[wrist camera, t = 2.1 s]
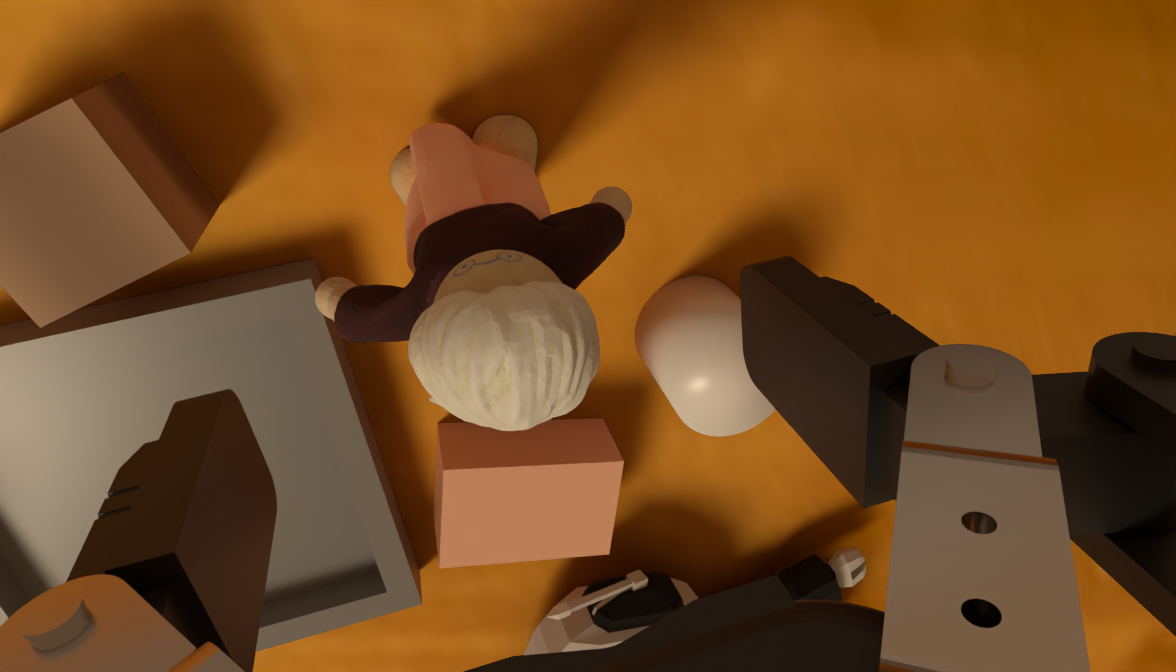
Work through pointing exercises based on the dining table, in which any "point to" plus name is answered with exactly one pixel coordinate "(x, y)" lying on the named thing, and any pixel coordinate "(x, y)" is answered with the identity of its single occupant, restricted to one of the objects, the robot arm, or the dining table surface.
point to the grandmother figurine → (487, 278)
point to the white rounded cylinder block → (700, 356)
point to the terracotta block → (525, 492)
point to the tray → (138, 415)
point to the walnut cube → (93, 201)
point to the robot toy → (667, 602)
